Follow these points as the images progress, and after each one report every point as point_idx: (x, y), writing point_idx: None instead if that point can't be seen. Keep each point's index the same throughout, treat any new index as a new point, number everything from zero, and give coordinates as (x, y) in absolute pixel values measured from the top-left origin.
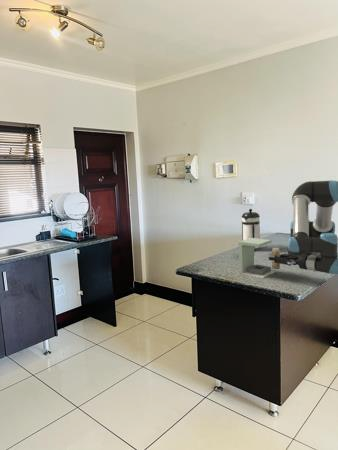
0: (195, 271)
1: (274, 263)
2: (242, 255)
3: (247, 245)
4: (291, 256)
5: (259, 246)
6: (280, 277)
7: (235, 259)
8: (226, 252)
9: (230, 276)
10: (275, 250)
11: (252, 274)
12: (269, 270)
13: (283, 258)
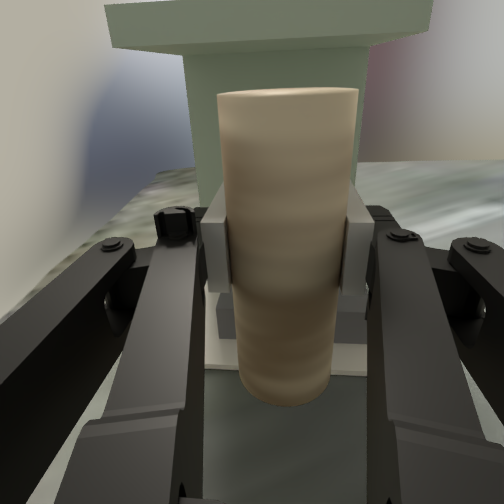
0: (170, 184)
1: (234, 311)
2: (199, 146)
3: (264, 76)
4: (392, 454)
5: (117, 41)
6: (259, 498)
7: (406, 189)
8: (451, 160)
9: (142, 247)
10: (220, 118)
11: (207, 293)
12: (342, 333)
13: (131, 337)
